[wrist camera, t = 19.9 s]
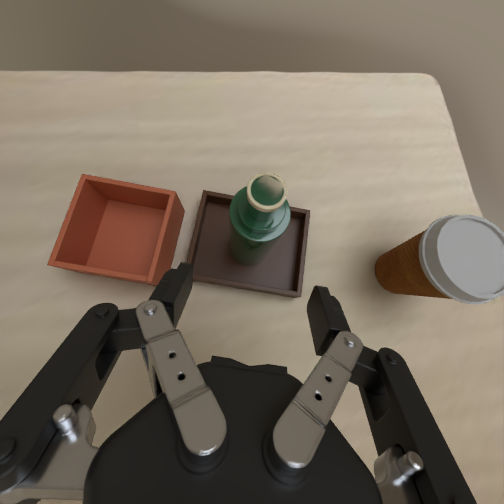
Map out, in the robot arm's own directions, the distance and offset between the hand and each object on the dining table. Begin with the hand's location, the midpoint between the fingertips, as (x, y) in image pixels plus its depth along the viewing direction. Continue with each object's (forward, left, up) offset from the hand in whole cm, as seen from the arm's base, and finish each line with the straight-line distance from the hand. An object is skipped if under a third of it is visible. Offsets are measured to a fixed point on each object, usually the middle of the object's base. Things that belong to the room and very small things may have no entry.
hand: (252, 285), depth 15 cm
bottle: (-4, +6, -17) cm, 18 cm away
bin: (-16, -5, -17) cm, 24 cm away
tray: (-4, +6, -17) cm, 19 cm away
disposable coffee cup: (+14, +18, -17) cm, 29 cm away
